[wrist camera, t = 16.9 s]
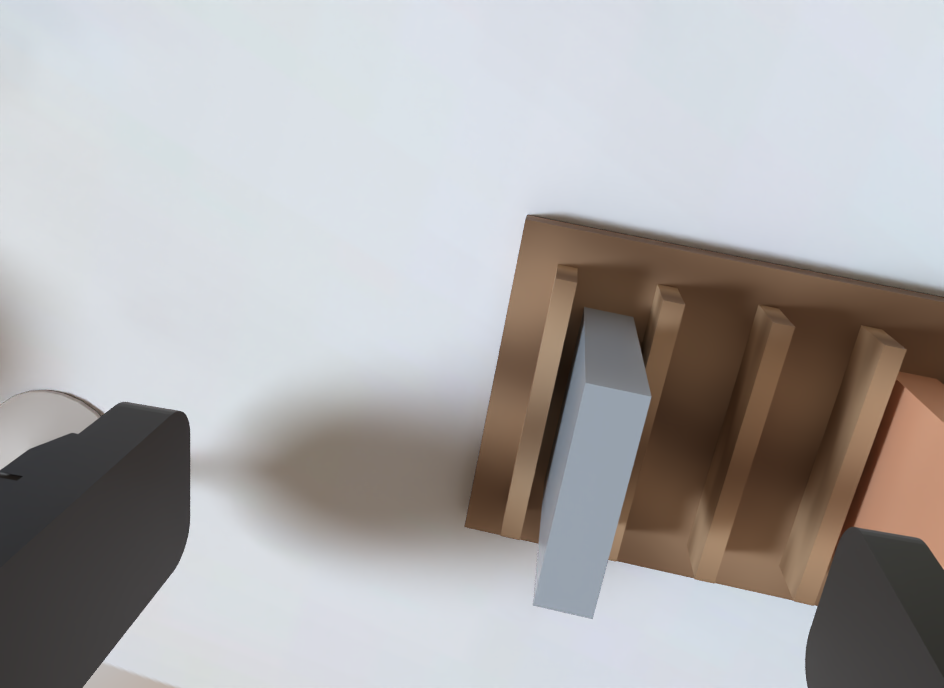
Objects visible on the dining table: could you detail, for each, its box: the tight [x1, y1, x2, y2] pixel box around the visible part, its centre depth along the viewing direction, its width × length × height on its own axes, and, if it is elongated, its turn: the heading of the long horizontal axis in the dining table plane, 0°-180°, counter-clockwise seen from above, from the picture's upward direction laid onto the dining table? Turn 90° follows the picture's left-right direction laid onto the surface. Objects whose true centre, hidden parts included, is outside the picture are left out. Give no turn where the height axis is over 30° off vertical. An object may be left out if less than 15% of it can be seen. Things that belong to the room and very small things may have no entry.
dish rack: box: [465, 215, 944, 606], centre depth 34 cm, size 14×20×4 cm
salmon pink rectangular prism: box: [832, 372, 944, 569], centre depth 30 cm, size 8×2×9 cm, turn 170°
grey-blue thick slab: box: [533, 307, 651, 619], centre depth 31 cm, size 8×2×9 cm, turn 170°
